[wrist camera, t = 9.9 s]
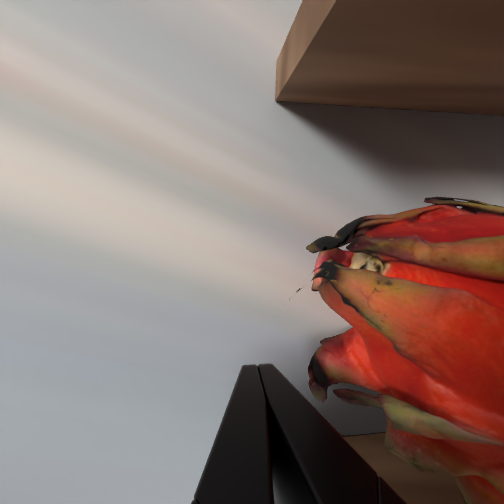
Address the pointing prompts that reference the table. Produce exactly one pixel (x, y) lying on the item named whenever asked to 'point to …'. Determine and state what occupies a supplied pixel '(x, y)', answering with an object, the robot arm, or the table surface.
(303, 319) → the table surface
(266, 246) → the table surface
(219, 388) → the table surface
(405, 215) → the dragon fruit
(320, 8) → the box
